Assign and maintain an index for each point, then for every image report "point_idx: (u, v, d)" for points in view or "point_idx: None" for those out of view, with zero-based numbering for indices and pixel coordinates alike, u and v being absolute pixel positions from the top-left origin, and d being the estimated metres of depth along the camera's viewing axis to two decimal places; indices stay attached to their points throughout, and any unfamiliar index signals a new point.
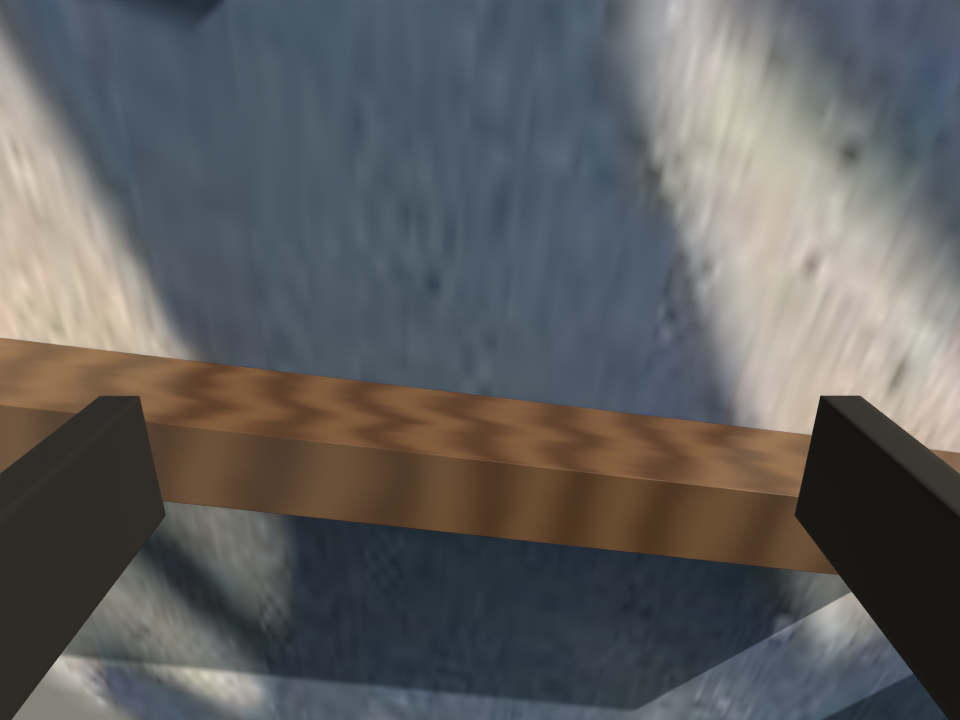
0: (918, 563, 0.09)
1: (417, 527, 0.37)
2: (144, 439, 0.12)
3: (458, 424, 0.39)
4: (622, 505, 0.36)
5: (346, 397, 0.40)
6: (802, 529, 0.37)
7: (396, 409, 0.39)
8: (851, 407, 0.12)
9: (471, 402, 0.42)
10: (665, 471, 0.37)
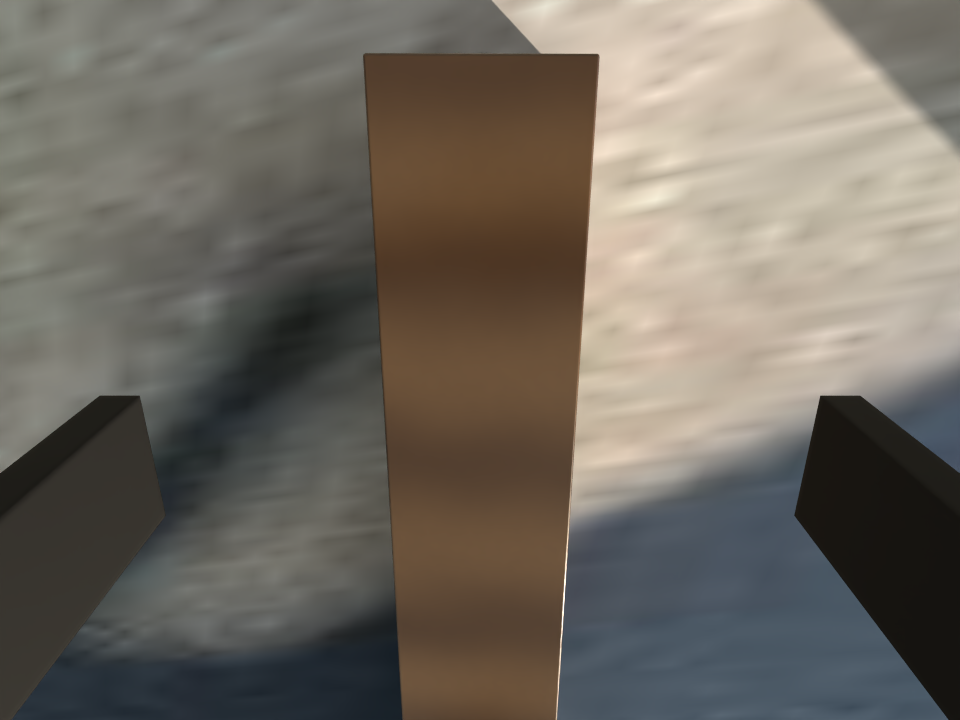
0: (918, 563, 0.09)
1: None
2: (144, 439, 0.12)
3: None
4: None
5: None
6: None
7: None
8: (850, 407, 0.12)
9: None
10: None
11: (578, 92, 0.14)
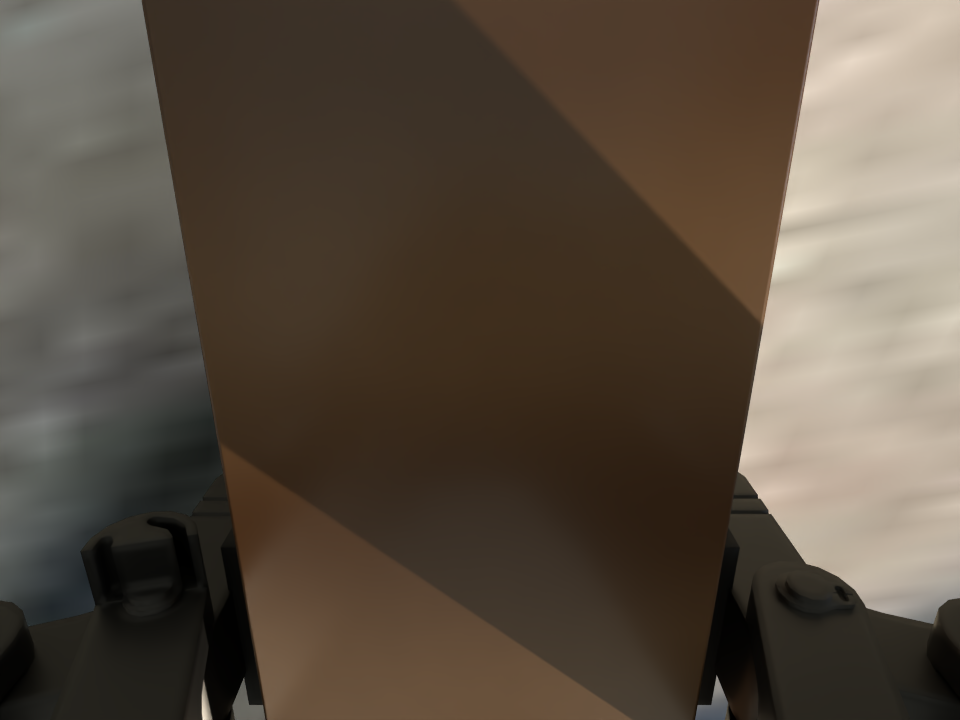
0: None
1: None
2: None
3: None
4: None
5: None
6: None
7: None
8: None
9: None
10: None
11: (752, 100, 0.05)
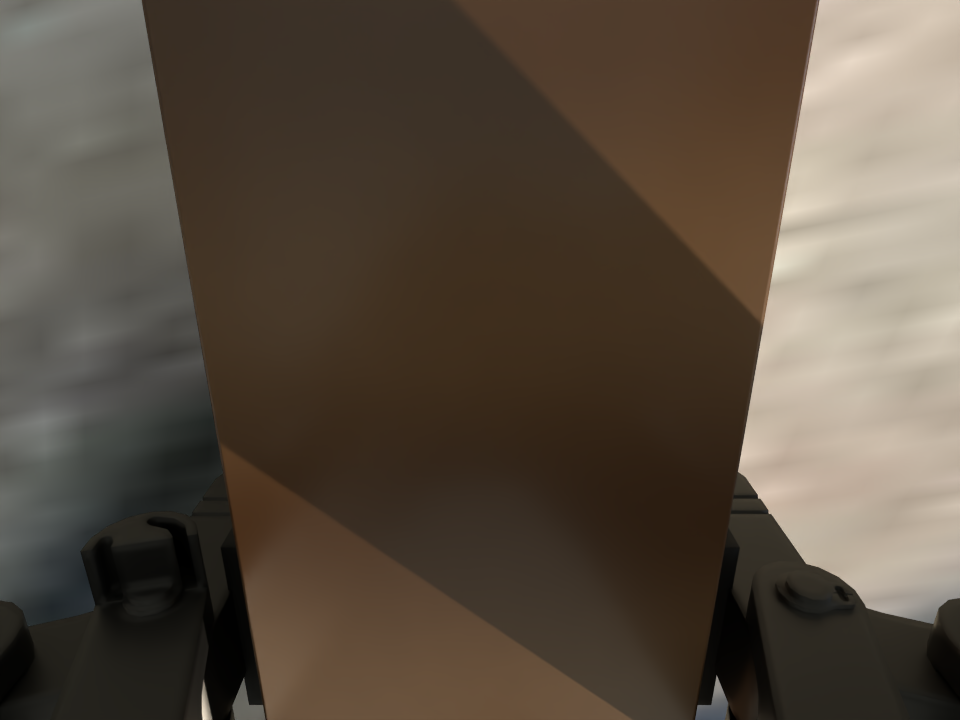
0: None
1: None
2: None
3: None
4: None
5: None
6: None
7: None
8: None
9: None
10: None
11: (751, 100, 0.05)
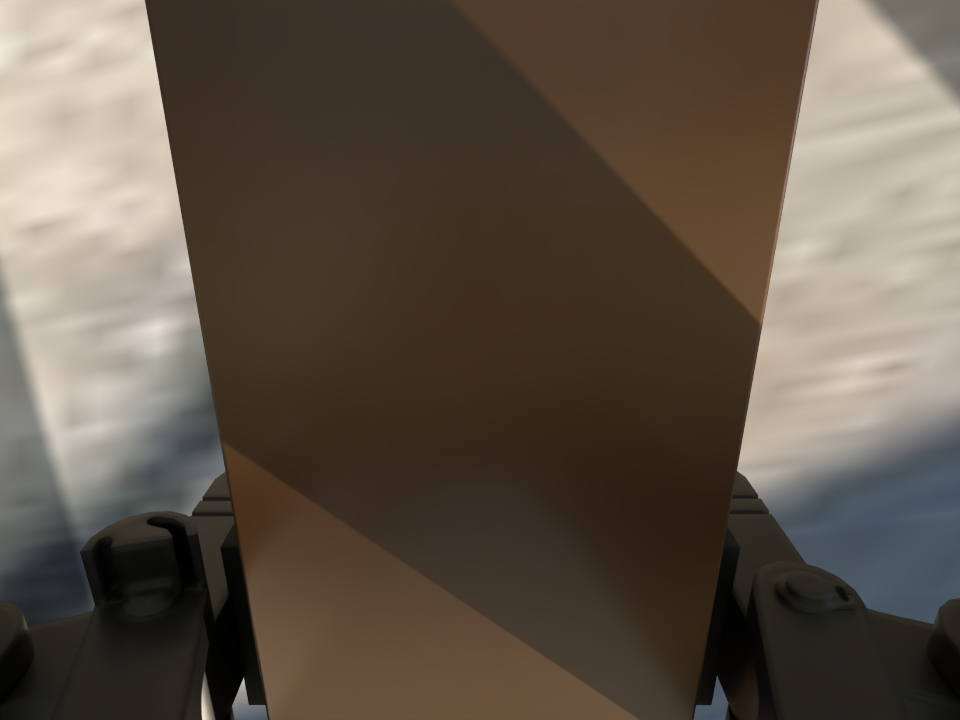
0: None
1: None
2: None
3: None
4: None
5: None
6: None
7: None
8: None
9: None
10: None
11: (751, 102, 0.05)
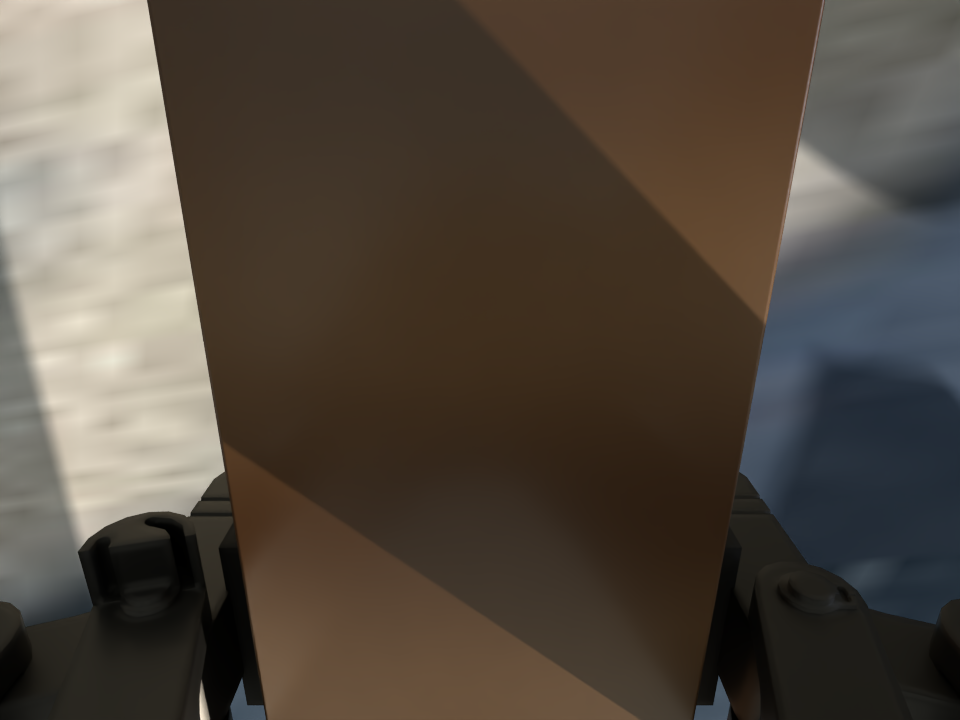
0: None
1: None
2: None
3: None
4: None
5: None
6: None
7: None
8: None
9: None
10: None
11: (756, 103, 0.05)
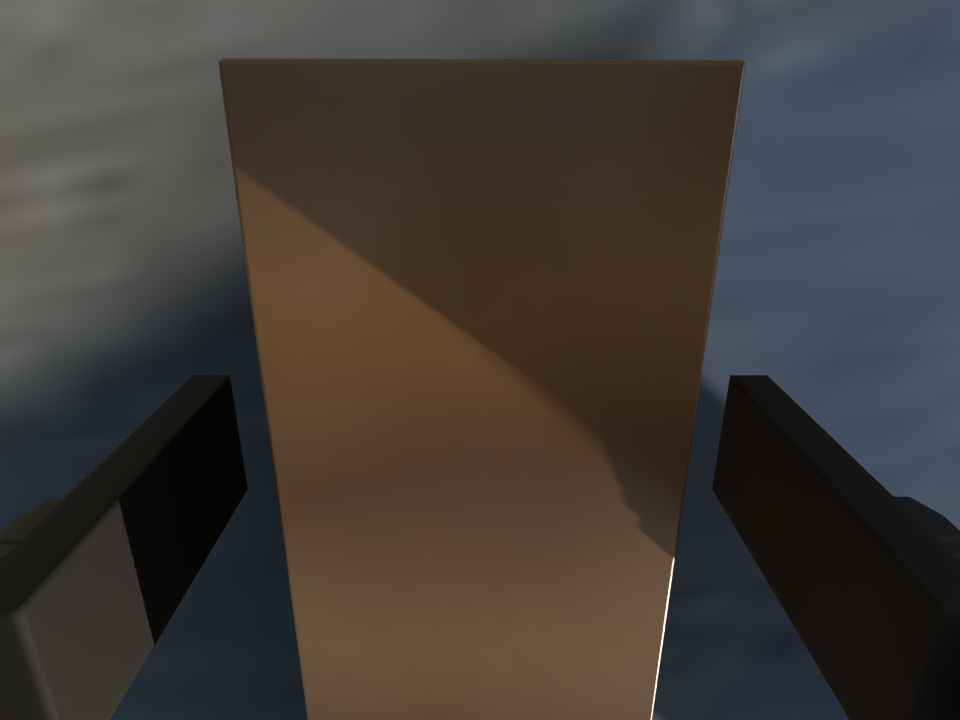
0: (795, 523, 0.10)
1: None
2: (233, 416, 0.13)
3: None
4: None
5: None
6: None
7: None
8: (755, 385, 0.13)
9: None
10: None
11: (694, 144, 0.06)
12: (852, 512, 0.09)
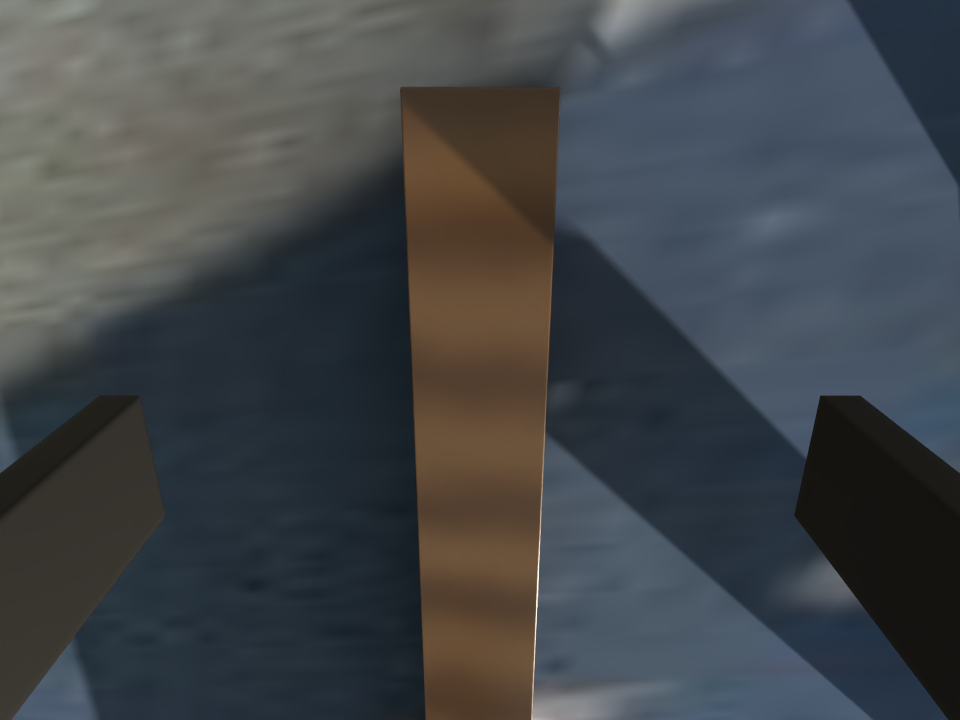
0: (918, 563, 0.09)
1: None
2: (145, 439, 0.12)
3: None
4: None
5: None
6: None
7: None
8: (851, 407, 0.12)
9: None
10: None
11: (546, 113, 0.20)
12: None
